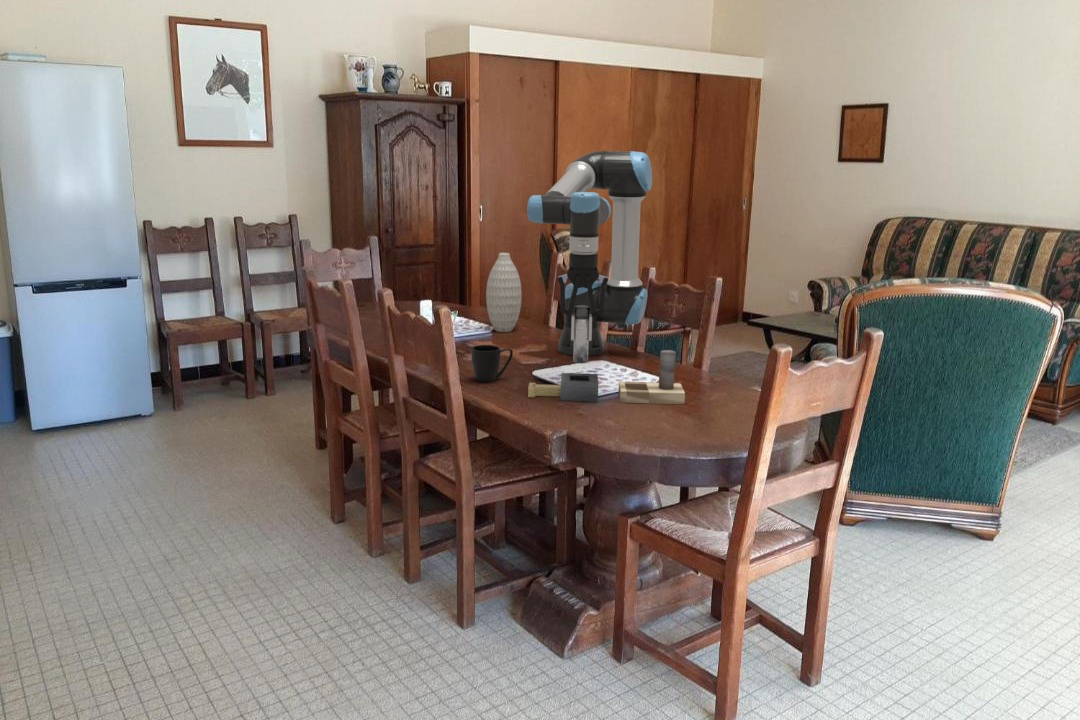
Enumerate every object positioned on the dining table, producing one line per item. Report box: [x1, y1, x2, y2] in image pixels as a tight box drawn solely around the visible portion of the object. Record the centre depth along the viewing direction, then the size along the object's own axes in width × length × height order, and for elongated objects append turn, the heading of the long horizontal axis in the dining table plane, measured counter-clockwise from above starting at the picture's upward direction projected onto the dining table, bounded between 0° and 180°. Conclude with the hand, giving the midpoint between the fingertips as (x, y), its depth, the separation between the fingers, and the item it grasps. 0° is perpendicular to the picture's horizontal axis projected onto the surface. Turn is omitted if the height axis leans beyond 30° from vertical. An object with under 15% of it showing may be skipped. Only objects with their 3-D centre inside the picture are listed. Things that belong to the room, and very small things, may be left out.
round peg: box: [572, 305, 590, 364], centre depth 230 cm, size 4×4×15 cm
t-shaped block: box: [527, 382, 561, 398], centre depth 234 cm, size 6×11×2 cm, turn 88°
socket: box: [559, 372, 600, 403], centre depth 233 cm, size 10×10×5 cm
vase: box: [485, 252, 522, 333], centre depth 310 cm, size 13×13×28 cm
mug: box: [471, 344, 514, 384], centre depth 247 cm, size 8×12×10 cm
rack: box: [618, 349, 686, 405], centre depth 232 cm, size 10×17×13 cm, turn 88°
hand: (581, 339), depth 230 cm, fingers closed on round peg, 4 cm apart
